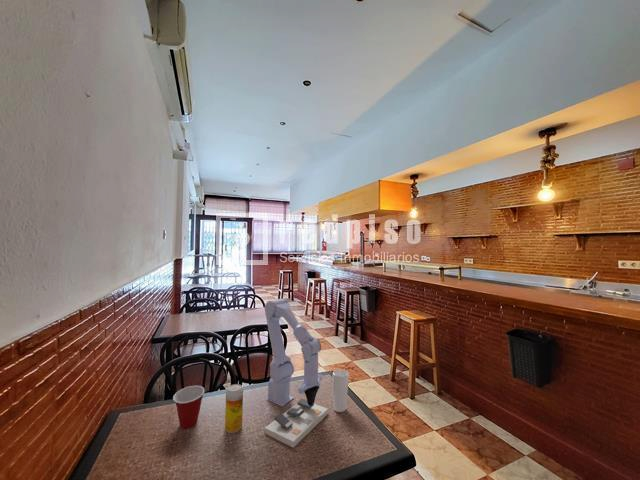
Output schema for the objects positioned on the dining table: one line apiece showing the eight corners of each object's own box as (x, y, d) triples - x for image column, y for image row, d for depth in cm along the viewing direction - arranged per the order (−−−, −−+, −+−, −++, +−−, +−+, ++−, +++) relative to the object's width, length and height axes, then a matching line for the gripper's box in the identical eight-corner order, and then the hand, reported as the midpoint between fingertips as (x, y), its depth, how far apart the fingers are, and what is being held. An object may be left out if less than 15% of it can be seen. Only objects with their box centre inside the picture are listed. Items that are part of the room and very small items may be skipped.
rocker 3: (297, 404, 112) (297, 401, 112) (302, 401, 115) (302, 398, 115) (309, 409, 109) (309, 406, 109) (313, 405, 111) (313, 402, 112)
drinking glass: (347, 405, 117) (348, 370, 118) (347, 414, 111) (348, 377, 111) (332, 403, 118) (333, 368, 119) (330, 413, 112) (331, 375, 112)
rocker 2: (287, 414, 106) (286, 411, 106) (292, 410, 109) (291, 407, 109) (299, 416, 103) (298, 413, 103) (304, 412, 106) (303, 409, 106)
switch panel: (264, 433, 99) (265, 426, 99) (302, 403, 118) (302, 397, 118) (293, 447, 92) (293, 440, 92) (327, 413, 111) (327, 407, 111)
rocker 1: (274, 419, 100) (275, 417, 100) (280, 415, 103) (281, 412, 103) (286, 430, 97) (287, 428, 97) (292, 425, 100) (292, 423, 100)
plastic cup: (165, 428, 100) (166, 395, 101) (191, 413, 110) (192, 383, 110) (184, 438, 95) (185, 403, 96) (209, 421, 105) (210, 389, 105)
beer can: (236, 435, 97) (238, 392, 98) (221, 432, 99) (222, 390, 99) (244, 424, 103) (246, 384, 104) (230, 422, 104) (231, 382, 105)
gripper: (309, 379, 103) (308, 416, 102) (328, 366, 115) (328, 399, 114) (294, 374, 107) (293, 410, 106) (314, 362, 119) (314, 394, 118)
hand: (310, 404), depth 110 cm, fingers closed, pressing on rocker 3
